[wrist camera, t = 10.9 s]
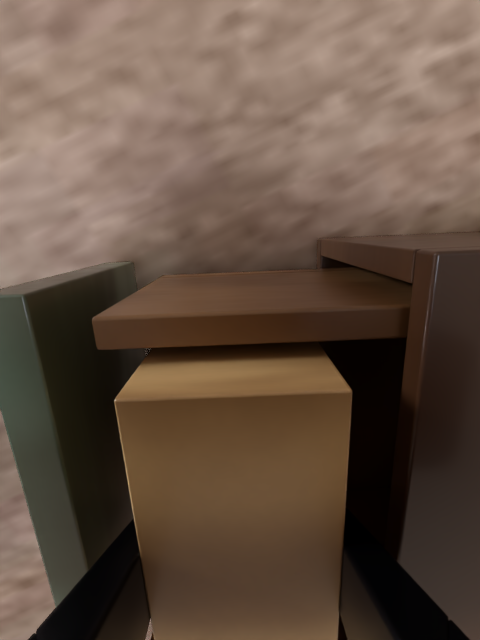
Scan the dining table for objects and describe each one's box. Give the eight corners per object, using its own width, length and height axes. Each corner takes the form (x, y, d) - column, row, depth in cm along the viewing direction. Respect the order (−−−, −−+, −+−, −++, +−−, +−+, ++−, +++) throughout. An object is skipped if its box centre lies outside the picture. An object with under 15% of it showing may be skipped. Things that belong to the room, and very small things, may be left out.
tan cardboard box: (311, 586, 11) (334, 703, 8) (183, 591, 11) (164, 709, 8) (317, 339, 8) (353, 390, 6) (152, 345, 8) (112, 399, 6)
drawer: (67, 504, 17) (-51, 691, 10) (10, 266, 14) (-226, 304, 7) (393, 493, 17) (500, 675, 10) (420, 249, 13) (612, 269, 7)
